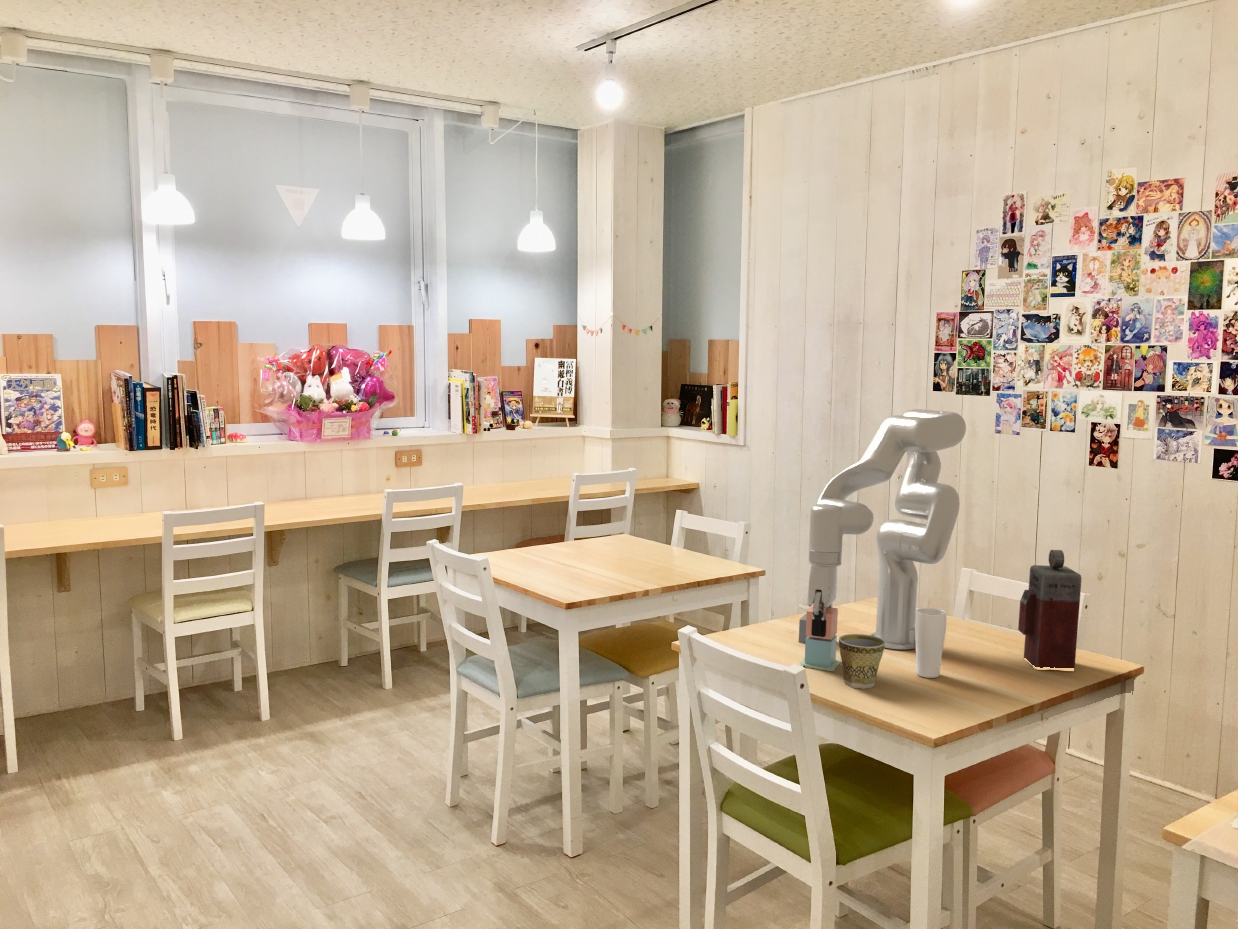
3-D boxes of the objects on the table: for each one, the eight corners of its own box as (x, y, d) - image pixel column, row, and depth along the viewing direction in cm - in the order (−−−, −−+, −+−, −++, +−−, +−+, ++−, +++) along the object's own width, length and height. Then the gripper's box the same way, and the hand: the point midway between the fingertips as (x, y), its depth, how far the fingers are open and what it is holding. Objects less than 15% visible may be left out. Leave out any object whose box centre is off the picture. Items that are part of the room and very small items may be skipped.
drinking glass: (927, 681, 224) (931, 616, 222) (906, 672, 230) (909, 609, 228) (949, 677, 227) (953, 613, 225) (927, 668, 233) (931, 606, 231)
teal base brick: (835, 660, 236) (836, 635, 235) (830, 667, 231) (831, 642, 230) (810, 656, 238) (811, 632, 238) (804, 663, 233) (805, 638, 232)
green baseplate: (840, 662, 237) (840, 659, 236) (833, 671, 229) (833, 669, 229) (807, 657, 240) (807, 654, 240) (799, 666, 233) (799, 664, 232)
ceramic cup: (880, 694, 215) (882, 649, 214) (833, 688, 218) (835, 643, 217) (886, 676, 227) (888, 633, 226) (841, 670, 231) (843, 628, 229)
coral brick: (811, 629, 238) (812, 605, 237) (836, 633, 235) (837, 608, 234) (805, 636, 232) (806, 611, 232) (831, 639, 230) (832, 614, 229)
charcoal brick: (827, 639, 255) (828, 616, 254) (822, 645, 249) (823, 622, 249) (804, 636, 257) (805, 613, 256) (798, 642, 252) (799, 619, 251)
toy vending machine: (1013, 658, 242) (1021, 545, 239) (1060, 659, 241) (1069, 546, 238) (1025, 670, 233) (1034, 553, 230) (1074, 671, 233) (1084, 554, 229)
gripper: (817, 548, 241) (814, 621, 243) (799, 562, 225) (796, 639, 227) (848, 552, 238) (845, 625, 240) (832, 566, 222) (829, 644, 224)
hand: (821, 631), depth 234 cm, fingers closed on coral brick, 5 cm apart
